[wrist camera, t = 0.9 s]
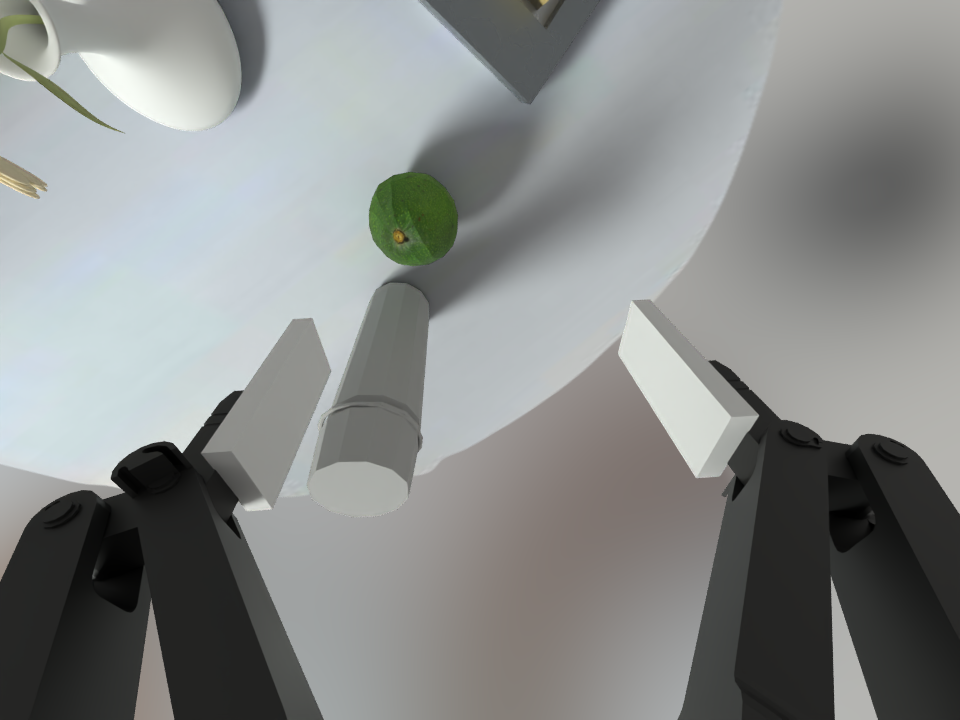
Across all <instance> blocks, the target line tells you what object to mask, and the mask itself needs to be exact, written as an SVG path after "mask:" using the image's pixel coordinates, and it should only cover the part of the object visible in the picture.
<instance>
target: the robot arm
mask: <svg viewBox="0 0 960 720" xmlns="http://www.w3.org/2000/svg"><path fill="white" fill-rule="evenodd" d="M618 355H619V356H620V358H621V360H622V361H623V363H624V364H625V366H626V367H627V369H628V370H629V372H630V374H631V375H632V377H633V378H634V380H635V382H636V383H637V385H638V386H639V388H640V390H641V391H642V393H643V394H644V396H645V398H646V399H647V401H648V402H649V404H650V405H651V407H652V409H653V410H654V412H655V413H656V415H657V417H658V418H659V419H660V421H661V423H662V424H663V426H664V428H665V429H666V431H667V432H668V434H669V435H670V437H671V438H672V440H673V442H674V443H675V445H676V447H677V448H678V450H679V451H680V453H681V455H682V456H683V458H684V459H685V461H686V463H687V464H688V466H689V467H690V469H691V470H692V472H693V474H694V475H695V477H696V478H704V477H718V476H721V474H722V472H723V471H724V469H725V468H726V466H727V465H729V466H730V468H731V469H732V470H733V472H734V473H735V476H734V477H733V478H732V480H731V482H730V483H729V484H728V486H727V487H726V489H725V490H724V492H723V493H722V496H724V497H726V495H727V494H728V498H727V502H726V507H725V511H724V516H723V521H722V526H721V530H720V535H719V540H718V545H717V549H716V554H715V559H714V563H713V568H712V573H711V577H710V582H709V587H708V591H707V596H706V601H705V606H704V611H703V615H702V620H701V624H700V629H699V634H698V639H697V643H696V649H695V653H694V657H693V662H692V667H691V672H690V676H689V681H688V686H687V690H686V695H685V700H684V704H683V708H682V711H681V713H680V716H679V718H678V720H835V714H834V678H833V642H832V607H831V577H832V580H833V583H834V586H835V589H836V592H837V596H838V599H839V602H840V605H841V608H842V611H843V614H844V617H845V620H846V623H847V626H848V629H849V632H850V635H851V638H852V641H853V644H854V648H855V650H856V654H857V657H858V660H859V663H860V666H861V669H862V672H863V675H864V678H865V681H866V684H867V687H868V690H869V693H870V696H871V699H872V702H873V706H874V709H875V712H876V715H877V718H878V720H960V514H959V513H958V512H957V510H956V508H955V507H954V505H953V504H952V502H951V501H950V499H949V498H948V496H947V495H946V493H945V492H944V490H943V489H942V487H941V486H940V484H939V483H938V481H937V480H936V478H935V477H934V475H933V474H932V473H931V471H930V470H929V468H928V466H926V464H925V462H924V461H923V460H922V458H921V457H920V456H919V455H918V454H917V453H916V452H914V451H913V450H911V449H910V448H908V447H907V446H906V445H904V444H902V443H900V442H898V441H896V440H893V439H891V438H887V437H884V436H881V435H875V434H865V435H861V436H860V437H859V438H858V439H857V440H856V441H855V442H854V443H853V444H852V445H848V444H841V443H836V442H830V441H824V440H822V438H821V437H820V436H819V435H818V434H817V433H815V432H814V431H812V430H810V429H809V428H808V427H805V426H803V425H801V424H799V423H795V422H792V421H788V420H781V419H780V418H779V417H778V416H776V414H774V412H772V410H771V409H770V408H769V407H768V406H767V405H766V404H765V403H764V402H763V401H762V400H761V399H759V397H758V396H757V395H756V394H754V392H753V391H752V390H749V387H748V386H747V385H746V384H744V382H742V381H740V378H739V377H737V375H736V374H735V373H734V372H732V370H731V369H729V368H728V367H726V366H724V365H722V364H720V363H719V362H717V361H716V360H714V361H707V360H706V359H705V357H704V356H702V354H701V353H700V352H699V351H698V350H697V349H696V348H695V347H694V346H693V345H692V344H691V343H690V342H689V341H688V339H687V338H686V337H685V336H684V335H683V334H682V333H681V332H680V331H679V330H678V329H677V328H676V327H675V326H674V325H673V324H672V323H671V321H670V320H669V319H668V318H667V317H666V316H665V315H664V314H663V313H662V312H661V311H660V310H659V309H658V308H657V307H656V306H655V305H654V303H653V302H652V301H651V300H633V301H632V302H631V305H630V309H629V313H628V317H627V321H626V325H625V328H624V332H623V336H622V340H621V344H620V348H619V352H618ZM330 373H331V369H330V366H329V363H328V360H327V358H326V355H325V352H324V349H323V347H322V344H321V341H320V338H319V336H318V333H317V330H316V327H315V325H314V322H313V319H312V318H307V319H293V320H292V321H291V323H290V324H289V326H288V327H287V329H286V330H285V332H284V333H283V334H282V336H281V337H280V339H279V340H278V342H277V343H276V345H275V346H274V348H273V349H272V350H271V352H270V353H269V355H268V356H267V358H266V359H265V361H264V362H263V364H262V365H261V366H260V368H259V369H258V371H257V372H256V374H255V375H254V377H253V378H252V380H251V381H250V382H249V384H248V385H247V387H246V388H245V390H243V391H234V392H232V393H231V394H230V395H229V396H227V397H226V398H225V399H224V400H222V401H221V402H220V403H219V404H218V406H217V407H216V409H215V410H214V411H213V413H212V414H211V415H212V416H211V417H209V418H208V419H207V421H206V422H205V423H204V427H201V429H200V430H199V432H198V433H197V434H196V436H195V437H194V438H193V440H192V441H191V442H190V444H189V445H188V446H187V448H186V449H185V451H184V452H183V453H181V452H180V451H179V449H178V448H177V447H176V446H175V445H174V444H173V443H170V442H165V441H164V442H157V443H152V444H149V445H147V446H144V447H141V448H139V449H138V450H136V451H134V452H132V453H131V454H129V455H128V456H126V457H125V458H124V459H123V460H122V461H120V462H119V463H118V465H117V466H116V467H115V469H114V470H113V471H112V475H111V480H112V481H113V482H114V483H115V484H117V485H118V486H119V487H120V488H121V489H122V490H123V491H125V493H122V494H119V495H116V496H113V497H109V498H106V499H101V498H100V497H99V496H98V495H97V494H95V493H94V492H92V491H87V490H81V491H78V492H74V493H70V494H67V495H65V496H63V497H61V498H59V499H57V500H55V501H53V502H52V503H50V504H48V505H47V506H46V507H44V508H43V509H41V510H40V512H38V513H37V514H36V515H35V516H34V517H33V518H32V519H31V520H30V522H29V523H28V524H27V526H26V527H25V529H24V531H23V533H22V535H21V538H20V540H19V542H18V544H17V546H16V549H15V551H14V553H13V555H12V558H11V559H10V562H9V564H8V566H7V568H6V570H5V573H4V575H3V577H2V579H1V581H0V720H134V714H135V707H136V700H137V692H138V686H139V679H140V672H141V665H142V658H143V651H144V644H145V637H146V630H147V623H148V616H149V609H150V602H151V599H152V604H153V610H154V614H155V620H156V625H157V630H158V635H159V641H160V646H161V651H162V657H163V662H164V667H165V672H166V678H167V683H168V688H169V693H170V698H171V704H172V709H173V714H174V720H324V719H323V717H322V715H321V712H320V710H319V708H318V706H317V703H316V701H315V698H314V696H313V694H312V691H311V689H310V687H309V684H308V682H307V680H306V678H305V675H304V673H303V671H302V668H301V666H300V664H299V662H298V659H297V657H296V654H295V652H294V650H293V648H292V645H291V643H290V641H289V638H288V636H287V634H286V631H285V629H284V627H283V624H282V622H281V620H280V617H279V615H278V613H277V610H276V608H275V606H274V604H273V601H272V599H271V597H270V594H269V592H268V590H267V587H266V585H265V583H264V580H263V578H262V576H261V573H260V571H259V569H258V567H257V564H256V562H255V560H254V557H253V555H252V553H251V550H250V548H249V546H248V543H247V541H246V539H245V537H244V534H243V532H242V530H241V527H240V525H239V523H238V520H237V518H236V517H235V516H234V515H233V513H232V512H233V510H234V508H235V506H236V504H237V502H238V501H239V502H240V503H241V505H242V506H243V507H244V508H245V510H246V511H257V510H269V509H270V510H271V509H273V507H274V505H275V503H276V500H277V498H278V496H279V493H280V491H281V489H282V486H283V484H284V482H285V479H286V477H287V474H288V472H289V470H290V467H291V465H292V463H293V460H294V458H295V456H296V453H297V451H298V449H299V446H300V444H301V442H302V439H303V437H304V434H305V432H306V430H307V427H308V425H309V423H310V420H311V418H312V416H313V413H314V411H315V409H316V406H317V404H318V401H319V399H320V397H321V394H322V392H323V390H324V387H325V385H326V383H327V380H328V378H329V376H330Z"/></svg>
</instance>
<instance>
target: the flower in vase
mask: <svg viewBox="0 0 960 720" xmlns="http://www.w3.org/2000/svg"><path fill="white" fill-rule="evenodd" d="M71 53H79V54H80V56H81V58H82V59H83V60H84V62H85V63H86V64H87V66H88V67H89V69H90V70H91V71H92V72H93V73H94V75H95V76H96V77H97V78H98V79H99V81H100V82H101V83H102V84H103V85H104V86H105V87H106V88H107V89H108V90H109V91H110V92H112V93H113V94H114V95H115V96H116V97H117V98H118V99H120V100H121V101H122V102H123V103H125V104H126V105H127V106H129V107H130V108H132V109H133V110H135V111H136V112H138V113H140V114H141V115H143V116H145V117H147V118H149V119H151V120H153V121H155V122H157V123H159V124H162V125H164V126H167V127H170V128H174V129H177V130H183V131H203V130H208V129H211V128H214V127H216V126H218V125H219V124H221V123H222V122H224V121H225V120H226V119H227V118H228V117H229V116H230V114H231V113H232V112H233V110H234V108H235V106H236V104H237V102H238V98H239V95H240V90H241V79H242V72H241V61H240V56H239V51H238V47H237V44H236V41H235V37H234V35H233V32H232V30H231V27H230V25H229V22H228V20H227V18H226V16H225V14H224V12H223V10H222V8H221V7H220V5H219V4H218V2H217V0H0V72H1V73H3V74H5V75H7V76H10V77H13V78H16V79H20V80H25V81H38V82H39V83H40V84H41V85H43V86H44V87H45V88H46V89H48V90H49V91H50V92H52V93H53V94H54V95H55V96H57V97H58V98H59V99H61V100H62V101H63V102H65V103H66V104H67V105H69V106H70V107H72V108H73V109H75V110H76V111H78V112H79V113H81V114H82V115H84V116H85V117H87V118H89V119H90V120H92V121H94V122H96V123H98V124H100V125H102V126H105V127H107V128H110V129H113V130H115V131H119V130H117V129H114V128H112V127H110V126H109V125H107V124H105V123H103V122H102V121H100V120H99V119H97V118H96V117H95V116H93V115H92V114H91V113H89V112H88V111H87V110H86V109H85V108H84V107H82V106H81V105H80V104H79V103H78V102H77V101H76V100H74V99H73V98H72V97H71V96H70V95H69V94H67V93H66V92H65V91H64V90H62V89H61V88H60V87H59V86H57V85H56V84H55V83H53V82H52V81H50V80H49V79H47V78H48V77H50V76H51V75H53V74H54V73H55V72H56V70H57V69H58V67H59V64H60V61H61V56H62V55H66V54H71ZM119 132H121V131H119ZM122 133H124V132H122ZM0 182H1V183H2V184H4V185H6V186H8V187H10V188H12V189H14V190H16V191H18V192H20V193H23V194H25V195H27V196H29V197H33V198H36V199H39V198H40V197H39V196H38V195H37V194H36V193H35V192H37V191H36V189H35V188H37V189H39V190H41V191H47V189H46V188H45V187H47V184H46V183H45V182H43V181H42V180H41V179H39V178H38V177H36V176H35V175H33V174H31V173H30V172H28V171H26V170H24V169H23V168H21V167H19V166H18V165H16V164H14V163H12V162H10V161H9V160H7V159H5V158H3V157H1V156H0ZM44 186H45V187H44Z"/></svg>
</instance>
